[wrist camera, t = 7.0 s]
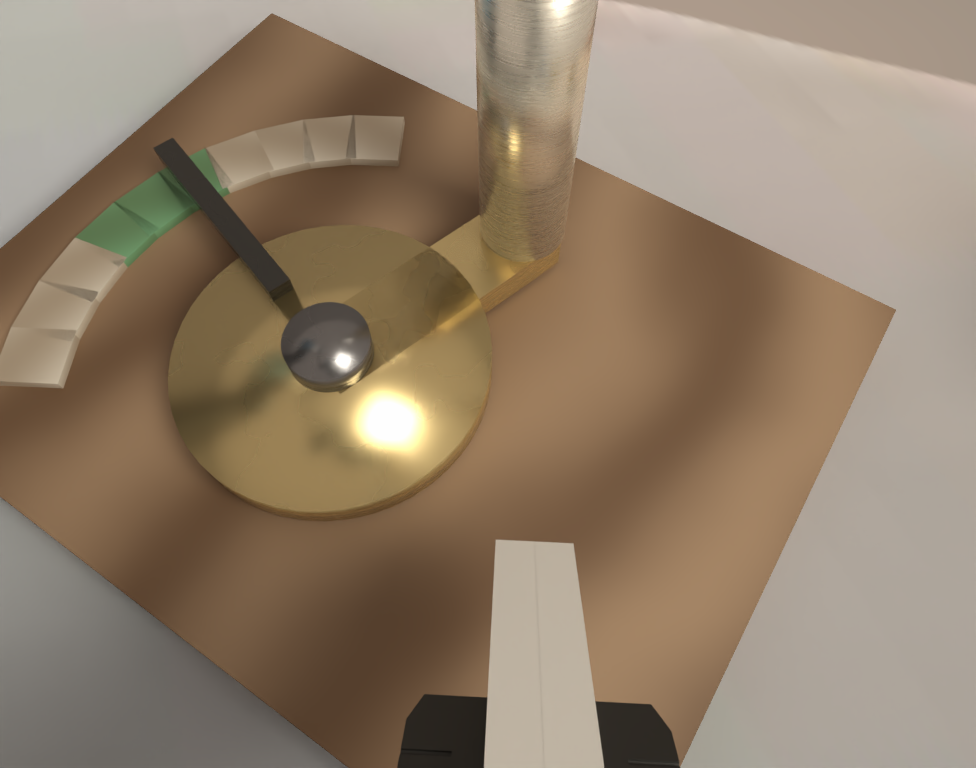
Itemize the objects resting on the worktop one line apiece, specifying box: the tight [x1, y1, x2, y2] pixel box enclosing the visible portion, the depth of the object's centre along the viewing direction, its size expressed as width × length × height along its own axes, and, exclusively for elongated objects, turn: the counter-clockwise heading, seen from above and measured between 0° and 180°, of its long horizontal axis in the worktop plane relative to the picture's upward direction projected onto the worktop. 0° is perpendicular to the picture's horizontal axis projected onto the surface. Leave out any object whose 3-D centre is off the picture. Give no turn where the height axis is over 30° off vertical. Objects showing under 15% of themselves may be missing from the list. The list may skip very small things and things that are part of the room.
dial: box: [153, 0, 598, 521], centre depth 16 cm, size 13×13×13 cm
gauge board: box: [0, 14, 896, 768], centre depth 22 cm, size 25×19×2 cm
